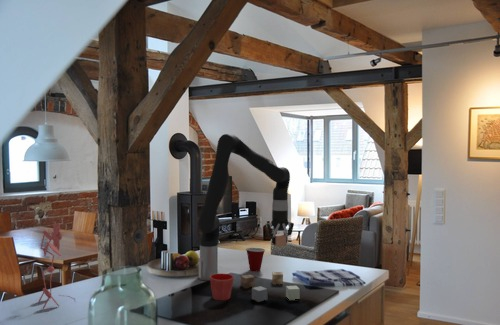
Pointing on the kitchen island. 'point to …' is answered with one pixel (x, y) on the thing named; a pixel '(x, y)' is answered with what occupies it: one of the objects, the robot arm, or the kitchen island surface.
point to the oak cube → (277, 278)
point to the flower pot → (221, 286)
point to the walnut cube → (247, 281)
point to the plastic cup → (255, 258)
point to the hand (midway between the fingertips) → (279, 244)
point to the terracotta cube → (280, 240)
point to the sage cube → (292, 292)
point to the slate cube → (259, 293)
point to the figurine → (55, 237)
